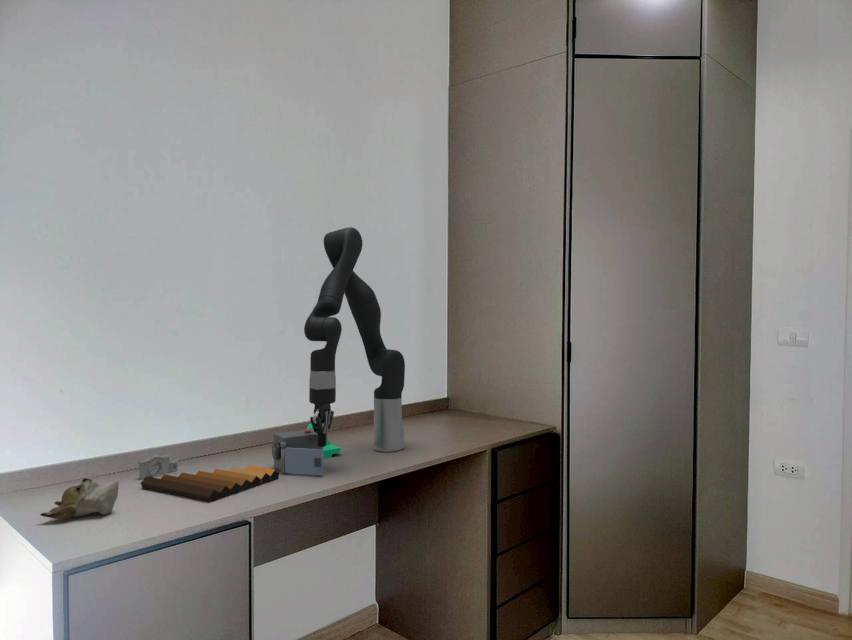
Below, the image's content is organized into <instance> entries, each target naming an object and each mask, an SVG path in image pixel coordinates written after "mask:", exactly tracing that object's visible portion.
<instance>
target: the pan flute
mask: <svg viewBox="0 0 852 640" xmlns="http://www.w3.org/2000/svg"><path fill="white" fill-rule="evenodd" d="M279 477H280V472H279V471H277V469H272V468H267V467H266V468H265V467H260V466H254V465H248V464H247V466H246V467H245V468H239V467H234V466H232V467H230V469H229V470H226V469H225V470H224V469H218V468H215V469H214V470H213V471H212V472H208V471H203V470H198V471H197V472H196V474H194V473H193V474H192V473H186V472H181V473H179V475H178V476H175V475H170V474H166V473H165V474H162V476H161V477H160V478H157V477H148V476H146V477H145V478H144V479H142V481H141V482H140V485H141V488H142V489H144V490H148V491H153V492H158V493H163V494H169V495H172V496H178V497H182V498H188V499H192V500H196V501H202V502H206V503H213V502H216V501H219V499H221V500H222V499H224V498H227V497H230V495H231V496H234V495H236V493H237V494H239V493H241V492H244V491H248V490H250V489H254V488H257V487H259V485H262V484H263V485H266V484H268V483H270V482H274V481H276V480H279ZM256 486H257V487H256ZM251 487H252V488H251ZM253 487H254V488H253Z"/></svg>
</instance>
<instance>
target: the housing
mask: <svg viewBox="0 0 852 640" xmlns="http://www.w3.org/2000/svg"><path fill="white" fill-rule="evenodd" d="M282 447H285V448H307V449H323V447H319V446H318V434H317V432H314V430H313V429H307V428H306V429H301V430H294V431H293V430H291V431H284V432H283V431H282V432H275V433H274V432H273V443H272V445H271V455H272V456H271V457H272V459H273V468H274V469H275V470H278V471H280V472H281V448H282Z"/></svg>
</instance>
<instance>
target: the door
mask: <svg viewBox="0 0 852 640" xmlns="http://www.w3.org/2000/svg"><path fill="white" fill-rule="evenodd" d="M324 460H325V459H324V449H307V448H285V447H282V448H281V471H280V473H281V474H300V475H302V474H303V475H320V476H321V475H322V476H323V475H324V473H325V471H324V470H325V468H324V467H325V466H324V465H325V463H324V462H325V461H324Z"/></svg>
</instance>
